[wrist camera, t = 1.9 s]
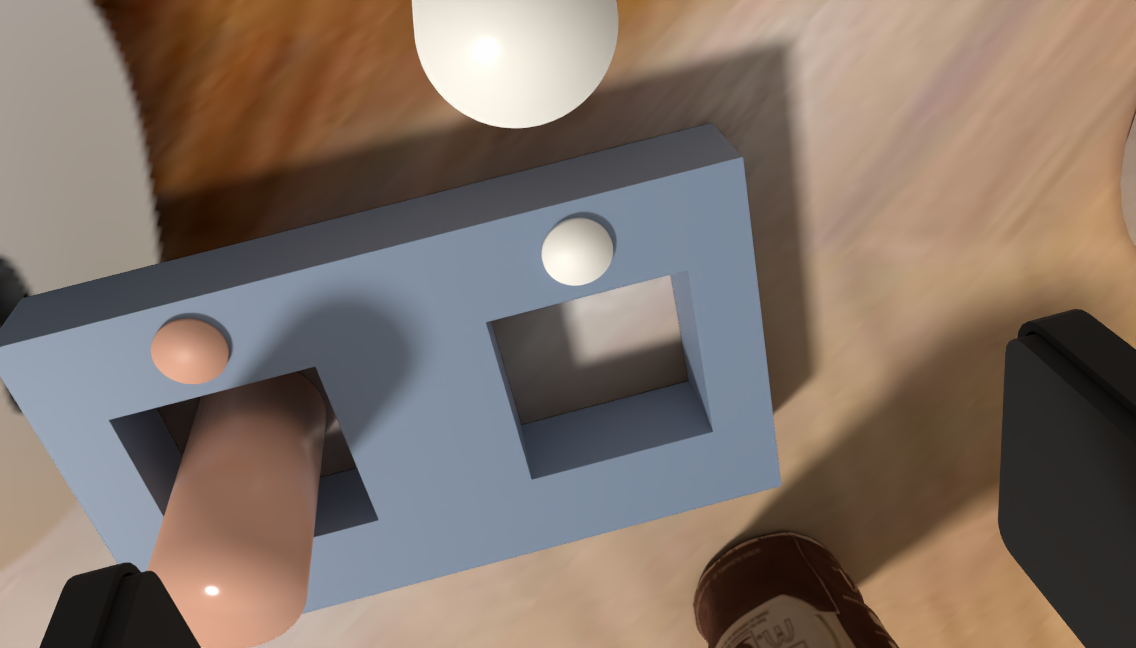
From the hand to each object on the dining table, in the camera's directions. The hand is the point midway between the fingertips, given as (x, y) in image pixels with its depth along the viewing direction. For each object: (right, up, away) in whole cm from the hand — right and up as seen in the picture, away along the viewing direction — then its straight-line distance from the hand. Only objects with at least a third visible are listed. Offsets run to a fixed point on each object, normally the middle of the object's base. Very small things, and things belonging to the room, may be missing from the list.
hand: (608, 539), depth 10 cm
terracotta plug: (-10, -1, +21) cm, 23 cm away
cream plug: (-3, +12, +15) cm, 20 cm away
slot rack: (-5, +1, +21) cm, 22 cm away
